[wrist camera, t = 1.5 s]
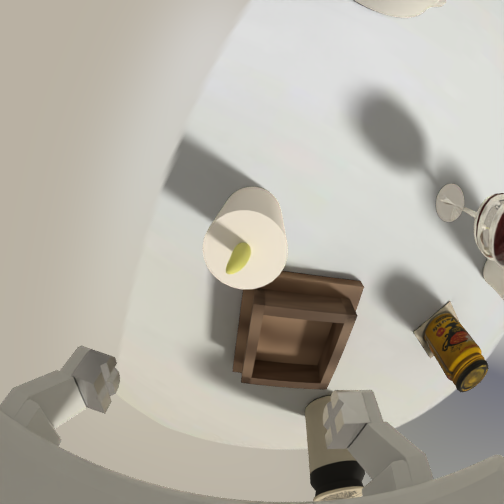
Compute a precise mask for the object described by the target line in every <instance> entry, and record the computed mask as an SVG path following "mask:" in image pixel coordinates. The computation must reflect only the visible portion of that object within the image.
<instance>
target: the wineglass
mask: <svg viewBox="0 0 504 504" xmlns="http://www.w3.org/2000/svg"><path fill="white" fill-rule="evenodd" d="M436 210H437V213H438V215H439V217H440V218H441V219H442V220H443V221H446V222H452V221H454V220H456V219H457V218H458V217H459V216H460V215H461V213H462V211H464V212H465V213H467V214H469V215H470V216H472V217H474V218H475V219H474V231H473V233H474V239H475V242H476V244H477V246H478V248H479V250H480V251H481V253H482V254H483V255H484V256H486V257H487V258H488V259H490V260H493V261H495V262H496V264H498V265H499V266H500V267H503V268H504V193H499V194H494V195H491V196H489V197H487V198H486V199H485V200H484V201H483V202H482V204H481V205H480V207H479V208H478V210H477V212H476V211H473V210H471V209H468V208H466V207H464V195H463V192H462V190H461V188H460V187H459V186H457V185H455V184H447V185H445V186H444V187H443V188H442V189H441V190H440V192H439V194H438V196H437V200H436Z"/></svg>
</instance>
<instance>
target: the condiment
mask: <svg viewBox="0 0 504 504" xmlns="http://www.w3.org/2000/svg"><path fill="white" fill-rule="evenodd" d="M414 334H415V335H416V337H417V338H418V340H419V341H420V343H421V345H422V346H423V348H424V349H425V351H426V352H427V354H428V355H429V357H430V358H431V357H433V356H435V358H436V359H437V361H438V363H439V365H440V366H441V368H442V369H443V371H444V373H445V375H446V376H447V378H448V379H449V380H451V381H453V383H454V384H455V385H456V388H457V390H459V391H460V392H465V391H468V390H470V389H472V388H474V387H475V386H476V385H477V384H478V383H479V382H480V381H481V380H482V379H483V378H484V376H485V375H486V373H487V371H488V364H487V362H486V361H485V359H484V357H483V356H482V355H481V349H480V348H479V346H478V345H477V344H476V343H475V341H474V340H473V339H472V338H471V336H470V335H469V334H468V332H467V331H466V330H465V329H464V328H463V326H462V325H461V324H460V322H459V320H458V318H457V316H456V313H455V311H454V309H453V307H452V305H451V302H449V303H448V304H446V305H445V306H444V307H443V308H442V309H440V310H439V311H438V312H437V313H436V314H434V315H433V316H432V317H431V318H430V319H429V320H427V321H426V322H425V323H424V324H423V325H422V326H421V327H419V328H418V329H417V330H416V331H414Z"/></svg>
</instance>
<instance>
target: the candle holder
mask: <svg viewBox="0 0 504 504" xmlns="http://www.w3.org/2000/svg"><path fill="white" fill-rule="evenodd" d="M363 288H364V286H363V285H362V283H361V281H356V280H348V279H340V278H332V277H324V276H316V275H309V274H301V273H294V272H286V271H281V273H280V275H279V276H278V277H276V278H275V279H274V280H273V281H272V282H270V283H269V284H267V285H265V286H263V287H259V288H255V289H243V295H242V303H241V310H240V318H239V325H238V333H237V341H236V349H235V356H234V364H233V372H240V373H242V378H241V383H248V384H257V385H266V386H277V387H289V388H304V389H327V387H328V385H329V383H330V381H331V378H332V376H333V374H334V372H335V369H336V367H337V365H338V363H339V360H340V358H341V356H342V353H343V351H344V348H345V346H346V343H347V341H348V338H349V336H350V333H351V331H352V328H353V326H354V323H355V320H356V318H357V314H356V309H357V306H358V303H359V300H360V297H361V294H362V291H363Z"/></svg>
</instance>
